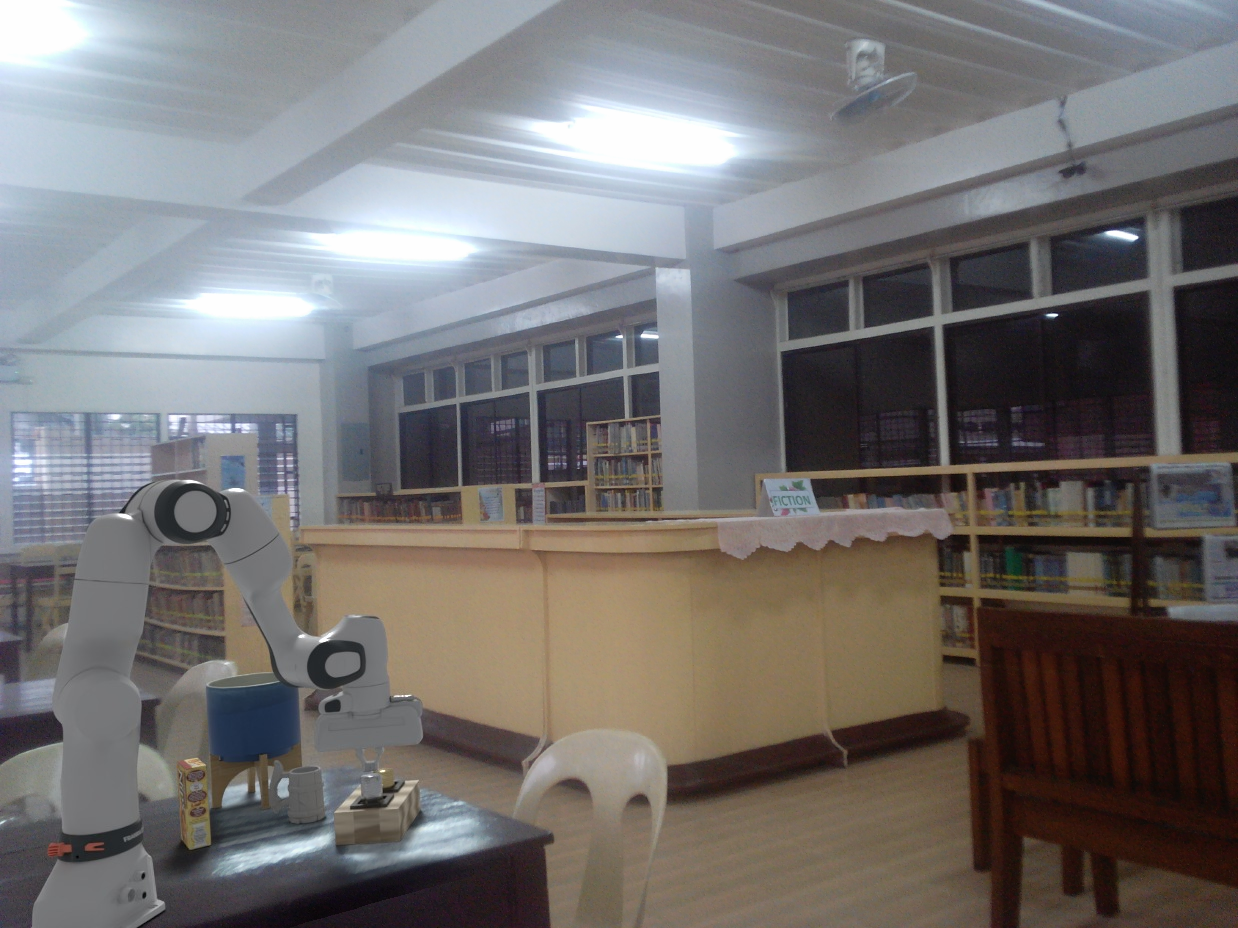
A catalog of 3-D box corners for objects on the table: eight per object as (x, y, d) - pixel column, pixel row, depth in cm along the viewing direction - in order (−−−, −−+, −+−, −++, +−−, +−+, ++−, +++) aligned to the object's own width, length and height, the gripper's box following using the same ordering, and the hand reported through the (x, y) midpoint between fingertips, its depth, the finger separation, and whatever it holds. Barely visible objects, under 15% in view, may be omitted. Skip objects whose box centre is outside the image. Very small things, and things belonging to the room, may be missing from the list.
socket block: (399, 841, 194) (397, 805, 194) (335, 844, 194) (333, 809, 195) (420, 809, 214) (419, 776, 214) (362, 812, 214) (360, 780, 215)
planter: (218, 818, 217) (212, 690, 218) (206, 798, 234) (200, 680, 235) (312, 800, 227) (306, 678, 228) (294, 782, 243) (288, 668, 244)
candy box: (212, 845, 199) (208, 764, 199) (188, 850, 196) (184, 768, 197) (202, 834, 206) (198, 756, 207) (179, 839, 204) (175, 760, 204)
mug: (318, 823, 209) (315, 762, 209) (261, 825, 210) (258, 765, 210) (332, 811, 217) (329, 753, 217) (277, 813, 218) (274, 755, 218)
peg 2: (393, 805, 207) (391, 772, 208) (372, 806, 207) (371, 773, 208) (397, 799, 211) (395, 767, 212) (377, 800, 211) (375, 768, 212)
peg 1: (380, 812, 197) (379, 777, 198) (359, 813, 197) (357, 779, 198) (385, 806, 201) (383, 772, 202) (365, 807, 201) (363, 773, 202)
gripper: (423, 691, 204) (427, 762, 204) (316, 699, 202) (320, 771, 202) (420, 696, 198) (424, 770, 197) (309, 705, 196) (313, 779, 196)
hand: (370, 770), depth 200 cm, fingers closed
